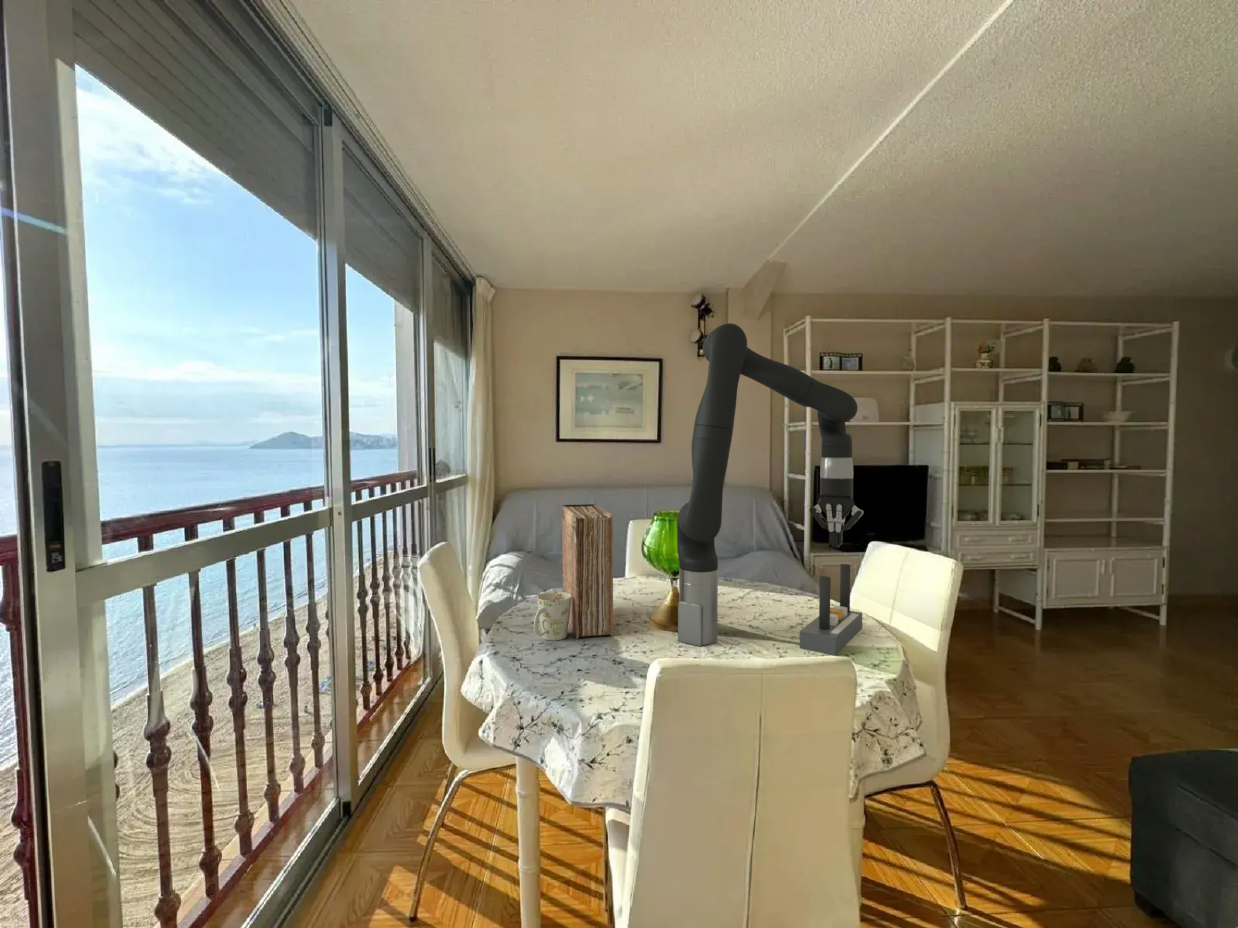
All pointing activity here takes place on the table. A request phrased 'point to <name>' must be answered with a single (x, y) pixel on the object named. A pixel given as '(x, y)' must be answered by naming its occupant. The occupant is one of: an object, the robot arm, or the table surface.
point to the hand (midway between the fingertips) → (835, 546)
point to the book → (588, 568)
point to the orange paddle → (837, 613)
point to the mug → (553, 615)
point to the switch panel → (831, 632)
